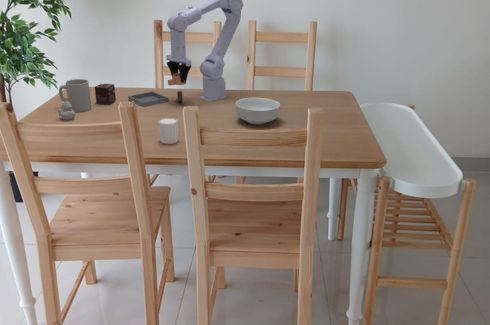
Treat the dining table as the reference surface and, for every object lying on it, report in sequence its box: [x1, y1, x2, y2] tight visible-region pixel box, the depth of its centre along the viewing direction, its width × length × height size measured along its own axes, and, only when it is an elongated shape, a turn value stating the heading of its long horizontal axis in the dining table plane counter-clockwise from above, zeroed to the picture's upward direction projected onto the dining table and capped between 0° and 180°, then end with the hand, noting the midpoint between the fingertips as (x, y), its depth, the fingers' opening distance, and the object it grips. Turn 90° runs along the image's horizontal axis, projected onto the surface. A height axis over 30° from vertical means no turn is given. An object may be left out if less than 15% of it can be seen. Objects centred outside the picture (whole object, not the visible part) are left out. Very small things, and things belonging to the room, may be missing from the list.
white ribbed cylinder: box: [157, 117, 180, 145], centre depth 158 cm, size 7×7×7 cm
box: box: [94, 83, 117, 106], centre depth 196 cm, size 6×6×7 cm
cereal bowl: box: [234, 96, 281, 125], centre depth 179 cm, size 17×17×7 cm
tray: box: [127, 91, 170, 108], centre depth 199 cm, size 12×12×2 cm
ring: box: [167, 72, 187, 86], centre depth 193 cm, size 8×5×4 cm
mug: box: [58, 78, 92, 113], centre depth 187 cm, size 12×8×11 cm
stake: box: [167, 91, 194, 107], centre depth 197 cm, size 8×8×5 cm
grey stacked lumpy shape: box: [57, 99, 76, 121], centre depth 176 cm, size 5×7×8 cm
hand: (179, 80), depth 194 cm, fingers closed on ring, 5 cm apart
